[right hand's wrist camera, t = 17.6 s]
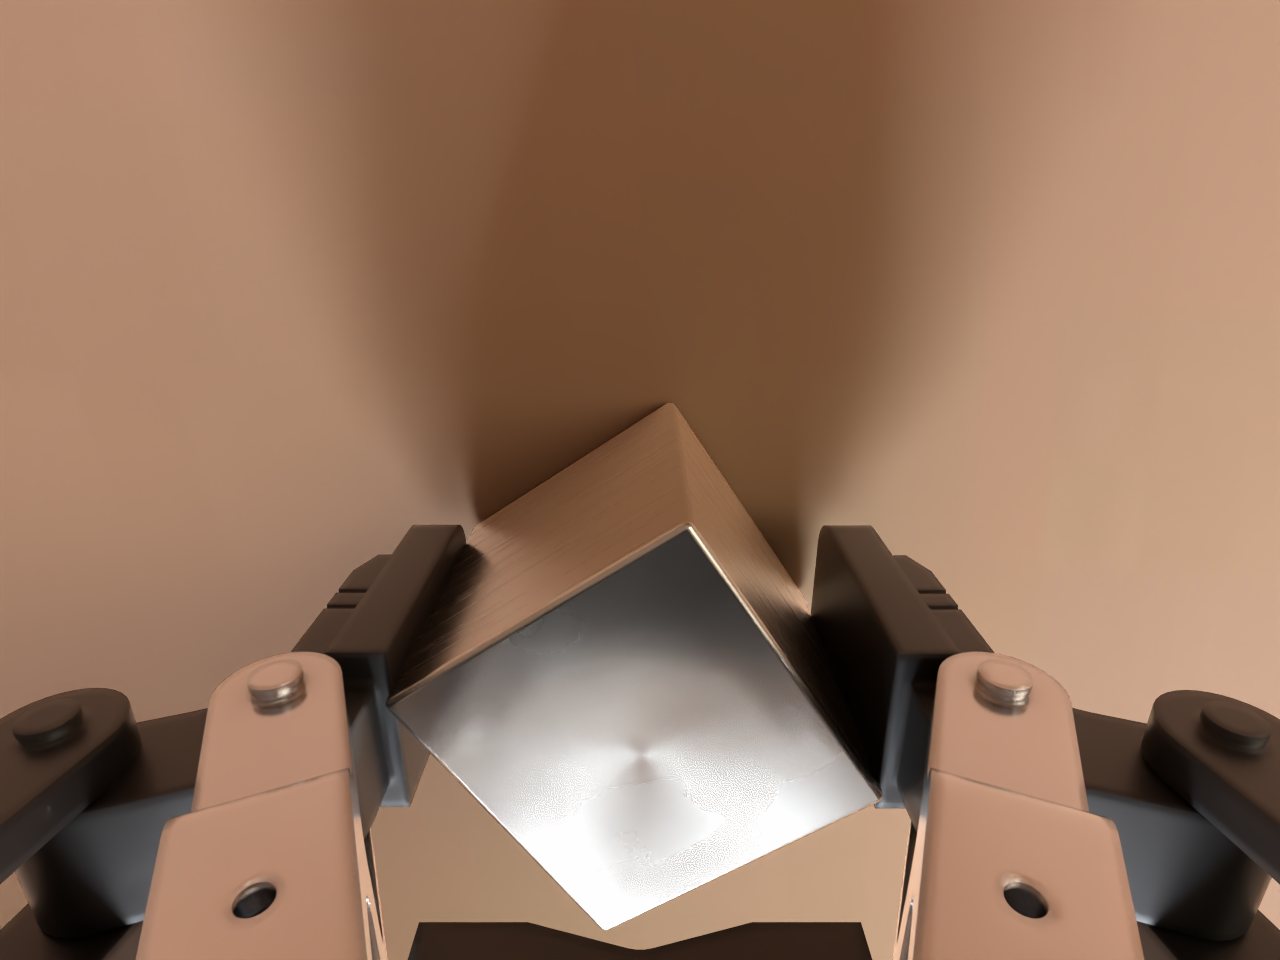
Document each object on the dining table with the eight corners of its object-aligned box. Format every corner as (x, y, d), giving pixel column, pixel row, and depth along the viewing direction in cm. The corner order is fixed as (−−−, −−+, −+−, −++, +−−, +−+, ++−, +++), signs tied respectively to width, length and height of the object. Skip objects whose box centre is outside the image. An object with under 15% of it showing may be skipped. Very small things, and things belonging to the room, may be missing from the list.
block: (671, 398, 11) (689, 520, 7) (804, 596, 13) (887, 801, 8) (472, 527, 12) (379, 705, 8) (615, 700, 14) (603, 935, 9)
